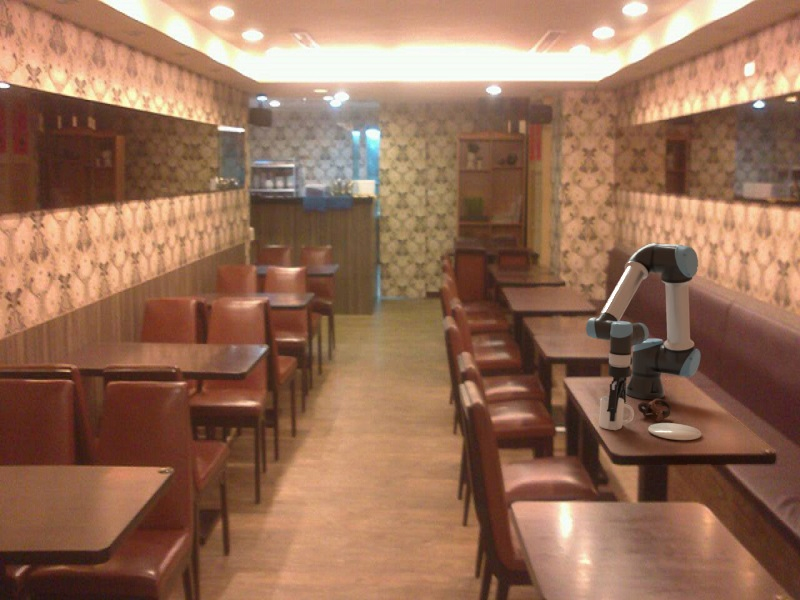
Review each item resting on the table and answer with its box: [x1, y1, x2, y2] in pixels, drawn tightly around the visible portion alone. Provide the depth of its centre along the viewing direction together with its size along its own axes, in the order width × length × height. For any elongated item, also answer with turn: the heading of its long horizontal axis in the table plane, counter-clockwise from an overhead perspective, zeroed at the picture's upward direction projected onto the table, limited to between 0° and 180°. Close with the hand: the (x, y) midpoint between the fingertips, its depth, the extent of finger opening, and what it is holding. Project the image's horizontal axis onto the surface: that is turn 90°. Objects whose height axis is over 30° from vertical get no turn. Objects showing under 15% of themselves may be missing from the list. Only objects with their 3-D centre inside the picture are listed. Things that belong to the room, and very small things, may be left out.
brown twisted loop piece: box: [637, 398, 672, 422], centre depth 347 cm, size 12×10×8 cm
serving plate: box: [648, 422, 702, 441], centre depth 328 cm, size 18×18×1 cm
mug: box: [598, 395, 635, 431], centre depth 333 cm, size 12×8×10 cm
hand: (615, 426), depth 334 cm, fingers closed on mug, 8 cm apart
